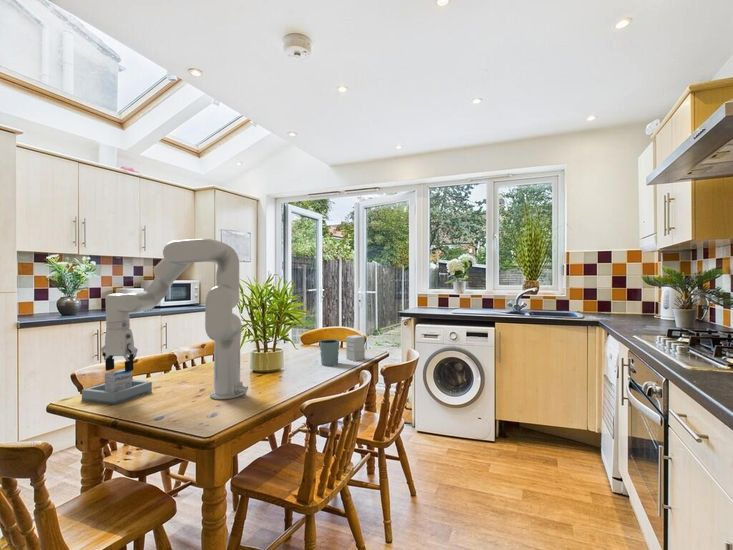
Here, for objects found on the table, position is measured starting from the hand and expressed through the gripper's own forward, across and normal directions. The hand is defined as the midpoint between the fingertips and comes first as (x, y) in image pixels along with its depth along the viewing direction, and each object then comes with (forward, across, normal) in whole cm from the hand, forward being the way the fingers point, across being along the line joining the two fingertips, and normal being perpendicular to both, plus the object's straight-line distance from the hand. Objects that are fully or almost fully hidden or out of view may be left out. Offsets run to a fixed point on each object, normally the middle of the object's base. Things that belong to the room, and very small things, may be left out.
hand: (119, 370), depth 148 cm
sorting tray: (+10, +1, 0) cm, 10 cm away
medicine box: (+9, +1, 0) cm, 9 cm away
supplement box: (+13, -65, -87) cm, 109 cm away
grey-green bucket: (+12, -56, -72) cm, 92 cm away
